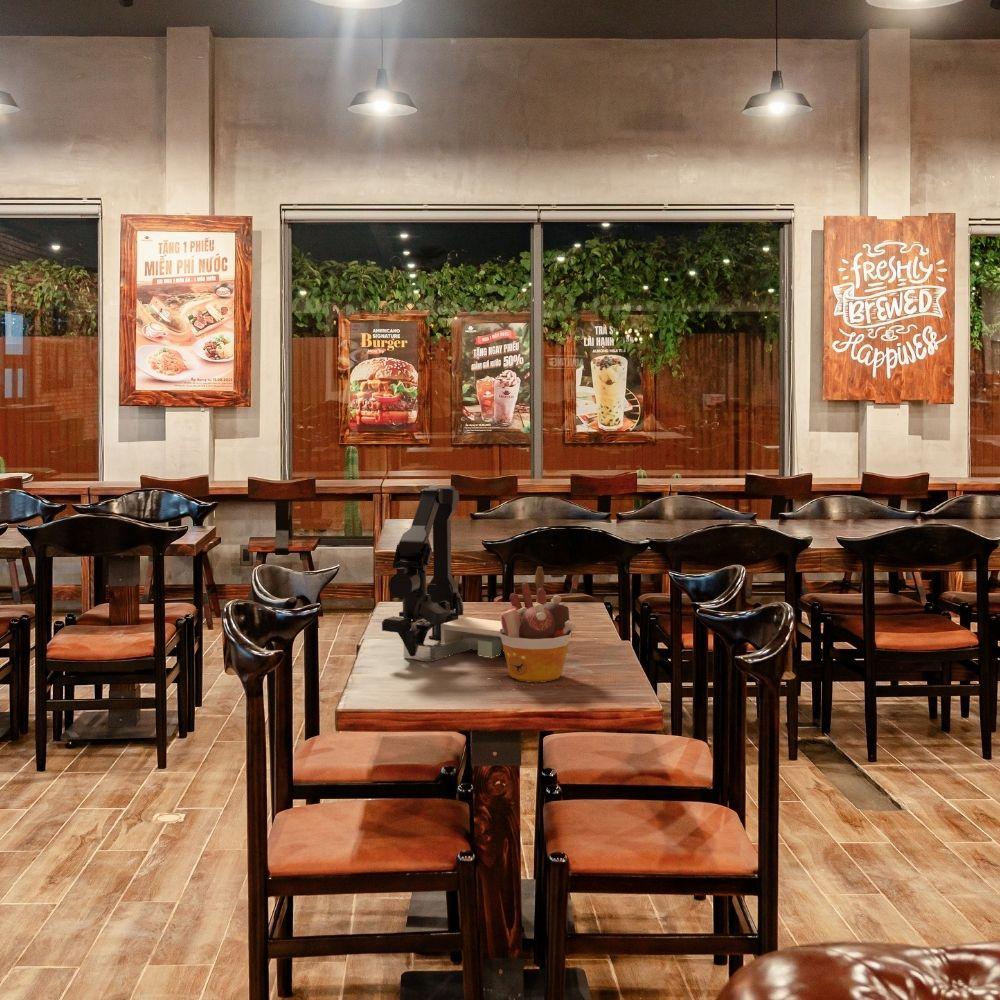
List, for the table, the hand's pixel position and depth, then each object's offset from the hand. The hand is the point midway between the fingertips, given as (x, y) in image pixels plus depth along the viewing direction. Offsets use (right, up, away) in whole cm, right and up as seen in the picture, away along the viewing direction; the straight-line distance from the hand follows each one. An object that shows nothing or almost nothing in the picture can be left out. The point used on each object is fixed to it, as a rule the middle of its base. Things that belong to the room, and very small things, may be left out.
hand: (415, 655), depth 275 cm
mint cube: (+18, -1, +3) cm, 18 cm away
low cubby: (+17, 0, +5) cm, 18 cm away
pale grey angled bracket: (+8, 0, +4) cm, 9 cm away
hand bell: (+31, +3, +41) cm, 52 cm away
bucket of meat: (+28, -3, -18) cm, 33 cm away
